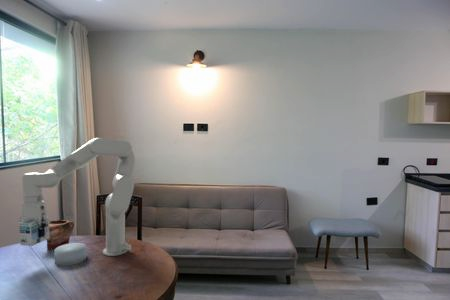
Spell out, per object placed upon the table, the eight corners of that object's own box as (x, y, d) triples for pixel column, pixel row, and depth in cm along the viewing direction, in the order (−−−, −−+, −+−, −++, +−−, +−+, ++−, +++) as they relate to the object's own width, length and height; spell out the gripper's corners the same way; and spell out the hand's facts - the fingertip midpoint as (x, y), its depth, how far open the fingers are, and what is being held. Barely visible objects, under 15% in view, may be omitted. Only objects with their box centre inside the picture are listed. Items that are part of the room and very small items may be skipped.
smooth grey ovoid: (92, 255, 150) (92, 244, 150) (73, 267, 137) (73, 255, 136) (68, 252, 153) (68, 241, 153) (47, 264, 139) (47, 252, 139)
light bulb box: (32, 246, 131) (30, 223, 131) (19, 245, 133) (18, 222, 132) (50, 237, 142) (49, 216, 141) (38, 237, 143) (37, 215, 142)
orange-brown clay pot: (63, 238, 173) (63, 215, 172) (81, 240, 171) (81, 217, 170) (35, 251, 153) (35, 225, 152) (56, 253, 151) (56, 227, 150)
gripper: (55, 197, 138) (56, 234, 139) (24, 196, 141) (26, 232, 142) (42, 201, 130) (44, 240, 132) (10, 200, 134) (12, 238, 135)
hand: (34, 235), depth 137 cm, fingers closed on light bulb box, 6 cm apart
